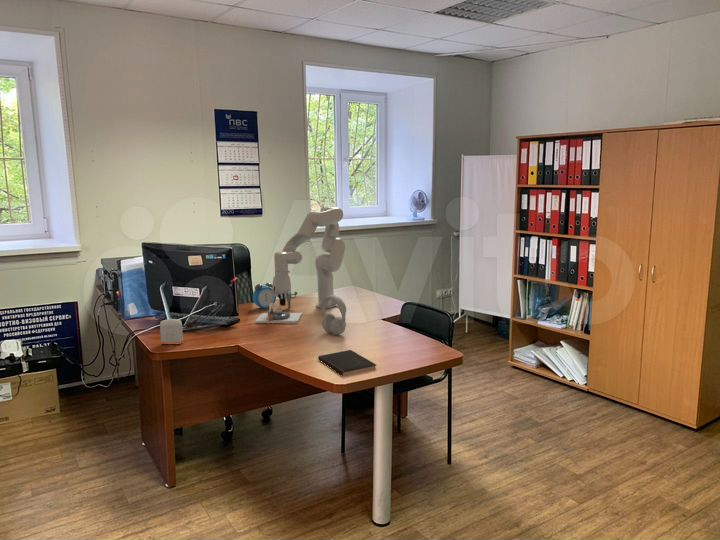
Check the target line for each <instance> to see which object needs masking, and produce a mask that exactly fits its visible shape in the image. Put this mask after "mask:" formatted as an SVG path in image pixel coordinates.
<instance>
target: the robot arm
mask: <svg viewBox="0 0 720 540" xmlns="http://www.w3.org/2000/svg"><path fill="white" fill-rule="evenodd" d="M343 218H344V211H343V210H342V209H341V208H339V207H336V206H335V207H334V206H325V207H322V208H321V209H320V211H310V212H308V214H306V216H305V218H304V220H303V222H302V224H301V226H300V227H299V229H298V231H297V232H296V233H295V234H294V235H293V236H292V237H290V239H289V240H288V241H287V242H285V245H284V247H283V249H282V250H281V251H276V252H275V253H274V254H273V255H274V257H273V258H274V259H273V260H274V263H273V264H274V276H273V279H272V285H273V288H272V290H273V293H274V296H276V298H278V299H279V305H280V306H281V307H284V306H286V303H287V302H286V301H287V298H286V297H287V295H289V294H291V293H292V284H291V278H290V275H289V274H290V273H291V271H290V270H289V265H297V264H300V263H301V262H302V260H303V255H302V254H301V253H300V252H299V251H297V248H299V247H300V246H301V245H303V244H305V243H307V242H309V241H311V239H312V237H313V235H314V234H315V232H316V230H317V229H318V228H319V227H320V228H323V227H324V228H325V229H324V234H323V239H322V242H321V249H322V251H324V252H325V253H328V254H325V253H322V254H319V255H317V257H316V258H315V260H314V263H315V269H316V276H317V277H316V278H317V292H318V293H317V299H318V301H317V303H315V307H317V308H320V309H321V302H322V300H323V299H324V298H325V297H326V296H329V295H335V292H334V291H335V290H334V275H333V274H334V273H335V272H337V271H339V270H340V268H341V266H342V264H343V263H342V262H343V259H344V255H345V250H346V244H345V242H344V240H343V239H342V238H340V237H339V235H340V225H339V222H340V221H342V219H343ZM334 306H335V307H337V304H336V303H335V302H334V301H333V300H332V299H330V300H329V301H328V303H327V305H326V307H325V309H330V308H334Z"/></svg>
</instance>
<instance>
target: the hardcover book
mask: <svg viewBox="0 0 720 540" xmlns="http://www.w3.org/2000/svg"><path fill="white" fill-rule="evenodd" d="M318 359H319V360H320V361H319V360H318ZM317 360H318V361H319V362H321V361H322V362H323V363H322V362H321V363H322V364H324V363H325V364H326V365H328V366H329V367H331V368H332V369H333V370H332V369H331V368H330V369H331V370H332V371H334V370H335V371H336V372H335V371H334V372H335V373H337V374H338V373H339V374H338V375H340V376H341V375H342V376H341V377H344V376H348V375H353V374H357V373H362V372H366V371H371V370H376V366H377V364H376V363H374V362H373V361H371V360H369V359H368V358H366V357H364V356H362V355H361V354H358V353H357V352H356V351H354V350H351V349H346V350H343V351H342V350H341V351H337V352H331V353H327V354H323V355H319V356H318V357H317ZM325 364H324V365H325ZM326 365H325V366H326ZM328 366H327V367H328ZM329 367H328V368H329Z"/></svg>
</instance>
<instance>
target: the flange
mask: <svg viewBox="0 0 720 540" xmlns="http://www.w3.org/2000/svg"><path fill="white" fill-rule="evenodd" d="M268 309H269V311H267V313H268V318H269V315H272V318H273V319H285V318H288V317H290V313H291V312H288V311H283V309H282V308H276V309H275V310H274V304H273V303H269V308H268Z"/></svg>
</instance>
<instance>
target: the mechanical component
mask: <svg viewBox="0 0 720 540" xmlns="http://www.w3.org/2000/svg"><path fill="white" fill-rule="evenodd" d="M297 295H298V291H294V292H293V293H292V292H291V294H289V295H287V297H286V301H287V309H291V301H292V299H295V298H296V297H297Z"/></svg>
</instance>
